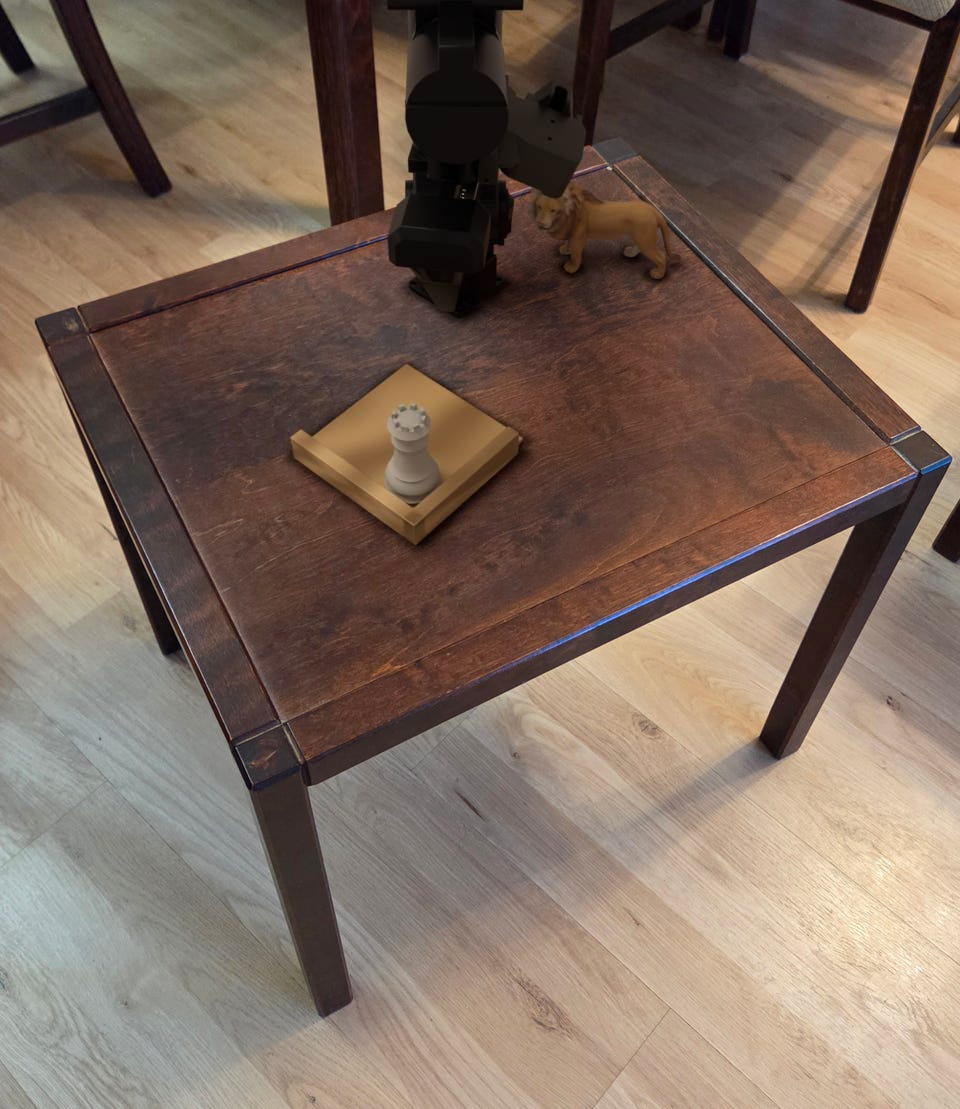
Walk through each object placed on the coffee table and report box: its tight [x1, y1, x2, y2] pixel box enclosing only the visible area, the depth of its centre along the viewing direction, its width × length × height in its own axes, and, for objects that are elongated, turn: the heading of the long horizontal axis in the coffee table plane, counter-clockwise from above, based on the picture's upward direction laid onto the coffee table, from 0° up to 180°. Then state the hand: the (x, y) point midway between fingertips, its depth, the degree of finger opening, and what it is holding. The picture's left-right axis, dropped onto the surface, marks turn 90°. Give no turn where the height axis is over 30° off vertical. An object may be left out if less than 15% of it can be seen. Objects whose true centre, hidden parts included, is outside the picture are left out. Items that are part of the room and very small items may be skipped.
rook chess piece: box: [384, 402, 441, 504], centre depth 80 cm, size 4×4×8 cm
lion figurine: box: [527, 181, 682, 280], centre depth 96 cm, size 15×5×9 cm, turn 92°
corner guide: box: [290, 363, 524, 546], centre depth 84 cm, size 14×14×2 cm
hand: (456, 268), depth 79 cm, fingers open, 9 cm apart
